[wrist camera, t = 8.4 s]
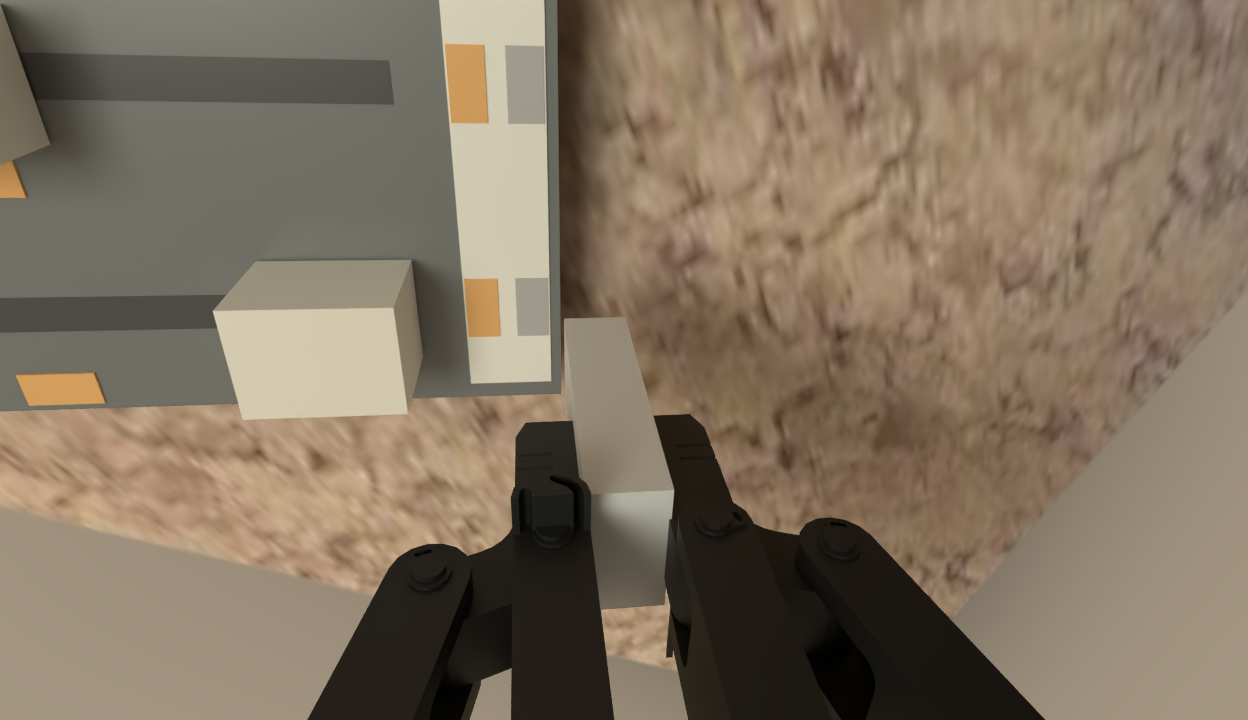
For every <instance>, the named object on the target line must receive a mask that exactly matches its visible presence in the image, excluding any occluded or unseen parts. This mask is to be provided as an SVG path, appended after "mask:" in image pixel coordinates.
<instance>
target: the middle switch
mask: <svg viewBox="0 0 1248 720" xmlns="http://www.w3.org/2000/svg"><path fill="white" fill-rule="evenodd" d="M48 145H50V142H49V139H48V136H47V134H46V131H45V128H44V125H43V122H42V120H41V117H40V114H39V111H38V108H37V105H36V103H35V100H34V97H33V94H32V91H31V89H30V86H29V83H28V80H27V77H26V74H25V72H24V69H23V66H22V63H21V60H20V58H19V55H18V52H17V49H16V46H15V44H14V41H13V38H12V35H11V32H10V29H9V27H8V24H7V21H6V18H5V15H4V13H3V10H2V7H1V4H0V165H2V164H5V163H7V162H9V161H12V160H14V159H17V158H19V157H21V156H24V155H26V154H29V153H31V152H33V151H36V150H38V149H41V148H43V147H45V146H48Z"/></svg>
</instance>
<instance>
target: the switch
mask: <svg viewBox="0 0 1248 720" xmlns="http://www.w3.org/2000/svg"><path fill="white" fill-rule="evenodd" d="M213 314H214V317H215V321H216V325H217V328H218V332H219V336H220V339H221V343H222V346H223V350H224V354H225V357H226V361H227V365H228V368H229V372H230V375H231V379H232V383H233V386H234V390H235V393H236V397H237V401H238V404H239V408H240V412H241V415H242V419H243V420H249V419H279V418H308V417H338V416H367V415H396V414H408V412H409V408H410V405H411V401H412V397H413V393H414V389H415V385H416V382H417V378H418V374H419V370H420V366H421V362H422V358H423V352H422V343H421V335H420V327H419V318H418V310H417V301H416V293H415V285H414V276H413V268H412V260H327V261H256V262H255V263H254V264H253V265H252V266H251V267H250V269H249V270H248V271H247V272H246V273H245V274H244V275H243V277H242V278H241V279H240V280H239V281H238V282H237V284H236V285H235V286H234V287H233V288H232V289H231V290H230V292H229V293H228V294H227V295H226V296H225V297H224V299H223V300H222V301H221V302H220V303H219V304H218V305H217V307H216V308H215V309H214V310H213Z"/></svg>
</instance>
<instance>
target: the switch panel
mask: <svg viewBox="0 0 1248 720" xmlns="http://www.w3.org/2000/svg"><path fill="white" fill-rule="evenodd" d="M0 4H1V7H2V10H3V13H4V15H5V18H6V21H7V24H8V27H9V29H10V32H11V35H12V38H13V41H14V44H15V46H16V49H17V52H18V55H19V58H20V60H21V63H22V66H23V69H24V72H25V74H26V77H27V80H28V83H29V86H30V89H31V91H32V94H33V97H34V100H35V103H36V105H37V108H38V111H39V114H40V117H41V120H42V122H43V125H44V128H45V131H46V134H47V136H48V139H49V142H50V145H48V146H45V147H43V148H41V149H38V150H36V151H33V152H31V153H29V154H26V155H24V156H21V157H19V158H17V159H14V160H12V161H9V162H7V163H5V164H2V165H0V411H26V410H58V409H89V408H121V407H152V406H184V405H216V404H238V401H237V397H236V393H235V390H234V386H233V383H232V379H231V375H230V372H229V368H228V365H227V361H226V357H225V354H224V350H223V346H222V343H221V339H220V336H219V332H218V328H217V325H216V321H215V317H214V314H213V310H214V309H215V308H216V307H217V305H218V304H219V303H220V302H221V301H222V300H223V299H224V297H225V296H226V295H227V294H228V293H229V292H230V290H231V289H232V288H233V287H234V286H235V285H236V284H237V282H238V281H239V280H240V279H241V278H242V277H243V275H244V274H245V273H246V272H247V271H248V270H249V269H250V267H251V266H252V265H253V264H254V263H255V262H256V261H327V260H412V268H413V276H414V285H415V293H416V301H417V310H418V318H419V327H420V335H421V343H422V352H423V358H422V362H421V366H420V370H419V374H418V378H417V382H416V385H415V389H414V393H413V397H412V398H437V397H469V396H500V395H532V394H561V320H560V225H559V129H558V34H557V0H0Z"/></svg>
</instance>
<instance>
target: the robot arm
mask: <svg viewBox="0 0 1248 720" xmlns="http://www.w3.org/2000/svg"><path fill="white" fill-rule="evenodd" d="M564 360H565V418H566V421H555V422H531V423H525V425H524V426H523V428H522V429H521V430H520V432H519V433H518V435H517V436H516V457H515V487H514V489H513V492H512V496H511V510H512V529H511V531H510V532H509V534H508V535H507V536H506V537H505V538H504V539H503V540H502V541H501V542H499V543H498V544H496V545H495V546H493V547H491V548H489V549H487V550H484V551H482V552H479V553H476V554H472V555H469V556H467V555H466V554H465V553H463V552H462V551H461V550H459V549H458V548H457V547H453V546H449V545H446V544H426V545H423V546H420V547H416V548H413V549H411V550H409V551H408V552H406V553H404V554H403V555H401V556H400V557H398V558H397V559H396V561H395V562H394V563H393V564H392V565H391V567H390V568H389V569H388V571H387V573H386V575H385V577H384V579H383V580H382V582H381V584H380V586H379V588H378V590H377V592H376V593H375V595H374V597H373V599H372V601H371V603H370V605H369V607H368V608H367V610H366V612H365V614H364V616H363V618H362V619H361V621H360V623H359V625H358V627H357V629H356V631H355V633H354V634H353V636H352V638H351V640H350V642H349V644H348V646H347V647H346V649H345V651H344V653H343V655H342V657H341V659H340V660H339V662H338V664H337V666H336V668H335V670H334V671H333V673H332V675H331V677H330V679H329V681H328V683H327V685H326V687H325V688H324V690H323V692H322V694H321V696H320V698H319V699H318V701H317V703H316V705H315V707H314V709H313V710H312V712H311V714H310V716H309V718H308V720H470V716H471V714H472V710H473V707H474V704H475V701H476V698H477V695H478V692H479V689H480V685H481V680H482V679H485V678H487V677H490V676H492V675H495V674H498V673H500V672H503V671H505V670H508V669H510V668H512V684H511V686H512V688H511V689H512V690H511V697H512V698H511V720H614V714H613V706H612V698H611V690H610V682H609V674H608V666H607V658H606V650H605V642H604V633H603V625H602V617H601V610H602V609H615V608H628V607H642V606H655V605H664V602H665V591H666V589H667V593H668V598H669V602H670V616H669V626H668V637H667V651H666V658H668V657H672V655H673V650H674V655H675V659H676V664H677V669H678V673H679V677H680V683H681V687H682V691H683V697H684V701H685V706H686V711H687V715H688V720H1045V719H1044V718H1043V717H1042V716H1041V715H1040V714H1039V713H1038V712H1037V711H1036V710H1035V709H1034V707H1033V706H1032V705H1031V704H1030V703H1029V702H1028V701H1027V700H1026V699H1025V698H1024V697H1023V696H1022V695H1021V694H1020V693H1019V692H1018V691H1017V689H1016V688H1015V687H1014V686H1013V685H1012V684H1011V683H1010V682H1009V681H1008V680H1007V679H1006V678H1005V677H1004V676H1003V675H1002V674H1001V673H1000V671H999V670H998V669H997V668H996V667H995V666H994V665H993V664H992V663H991V662H990V661H989V660H988V659H987V658H986V657H985V656H984V655H983V653H982V652H981V651H980V650H979V649H978V648H977V647H976V646H975V645H974V644H973V643H972V642H971V641H970V640H969V639H968V638H967V637H966V635H965V634H964V633H963V632H962V631H961V630H960V629H959V628H958V627H957V626H956V625H955V624H954V623H953V622H952V621H951V620H950V619H949V617H948V616H947V615H946V614H945V613H944V612H943V611H942V610H941V609H940V608H939V607H938V606H937V605H936V604H935V603H934V602H933V601H932V599H931V598H930V597H929V596H928V595H927V594H926V593H925V592H924V591H923V590H922V589H921V588H920V587H919V586H918V585H917V584H916V583H915V581H914V580H913V579H912V578H911V577H910V576H909V575H908V574H907V573H906V572H905V571H904V570H903V569H902V568H901V567H900V566H899V565H898V563H897V562H896V561H895V560H894V559H893V558H892V557H891V556H890V555H889V554H888V553H887V552H886V551H885V550H884V549H883V548H882V547H881V545H880V544H879V543H878V542H877V541H876V540H875V539H874V538H873V537H872V536H871V535H870V534H869V533H867V532H866V531H865V530H863V529H862V528H861V527H860V526H858V525H855V524H853V523H851V522H848V521H846V520H842V519H836V518H820V519H815V520H813V521H811V522H809V523H807V524H806V525H805V526H804V527H803V529H802V530H801V531H800V535H793V534H788V533H782V532H777V531H772V530H769V529H765V528H762V527H760V526H758V525H755V524H754V523H753V521H752V519H751V518H750V516H749V515H748V514H747V512H746V511H745V510H744V509H742V508H741V507H739V506H738V505H736V504H735V503H733V501H732V498H731V496H730V493H729V490H728V488H727V485H726V483H725V480H724V477H723V475H722V472H721V469H720V467H719V464H718V462H717V459H715V454H714V451H713V449H712V446H710V441H709V438H708V436H707V433H706V430H705V428H704V427H703V426H702V425H701V424H700V423H699V422H698V421H697V420H696V419H694V418H693V417H692V416H691V415H690V414H684V415H660V416H653V413H652V410H651V406H650V403H649V399H648V396H647V392H646V389H645V385H644V382H643V378H642V375H641V371H640V367H639V364H638V360H637V357H636V353H635V350H634V346H633V343H632V339H631V336H630V332H629V329H628V325H627V322H626V318H625V317H609V318H568V319H564Z"/></svg>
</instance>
